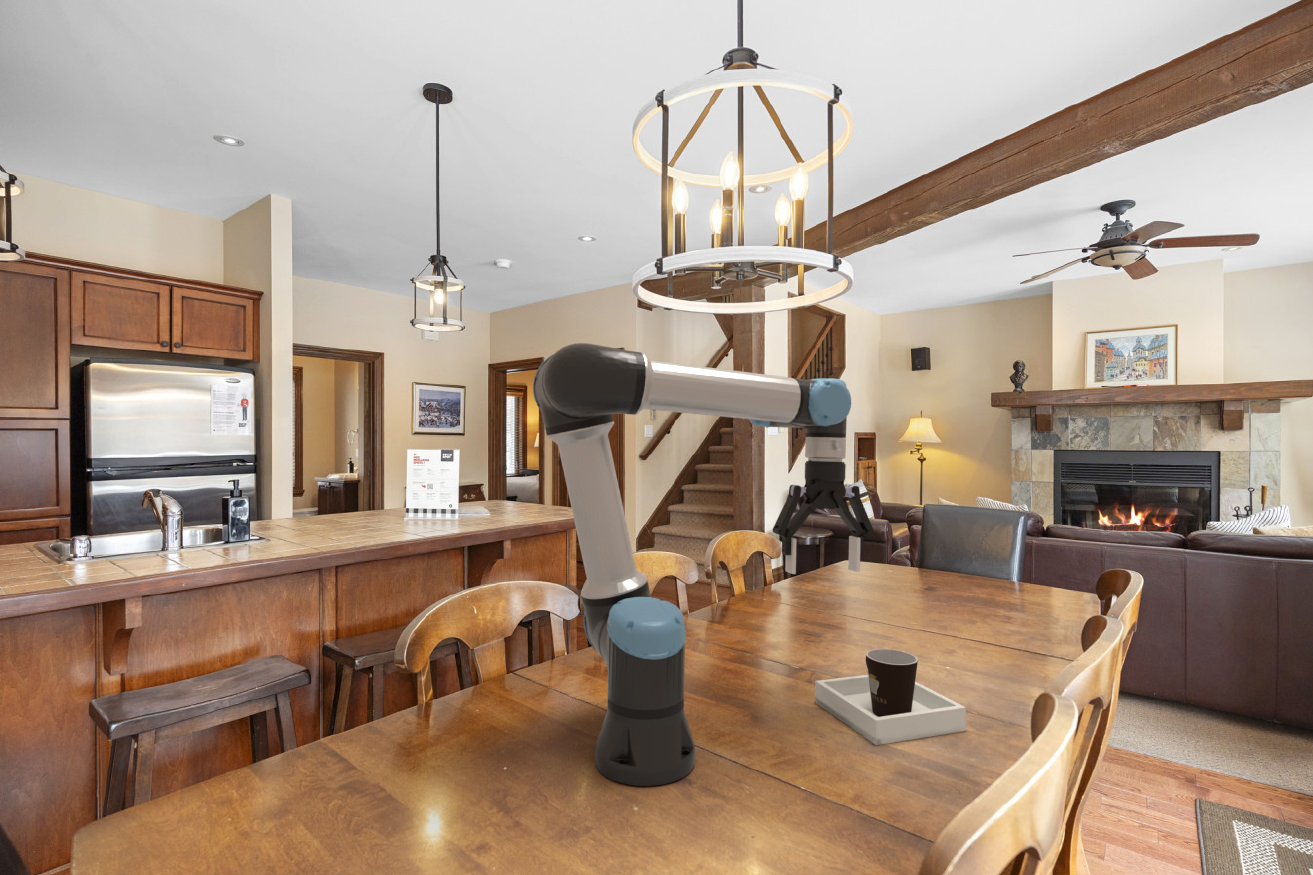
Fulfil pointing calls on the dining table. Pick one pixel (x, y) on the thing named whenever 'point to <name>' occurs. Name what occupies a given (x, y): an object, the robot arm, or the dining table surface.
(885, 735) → the white tray
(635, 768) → the robot arm
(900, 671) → the coffee mug
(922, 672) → the dining table surface
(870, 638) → the dining table surface
